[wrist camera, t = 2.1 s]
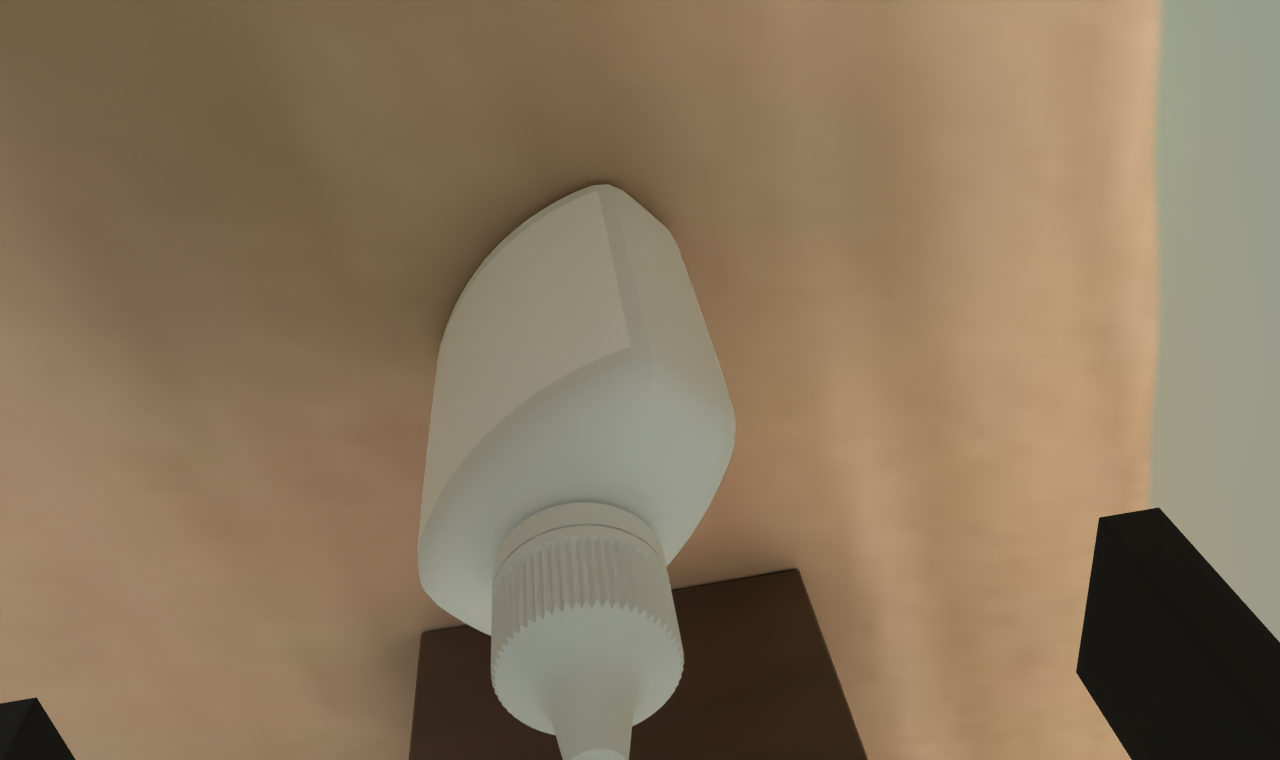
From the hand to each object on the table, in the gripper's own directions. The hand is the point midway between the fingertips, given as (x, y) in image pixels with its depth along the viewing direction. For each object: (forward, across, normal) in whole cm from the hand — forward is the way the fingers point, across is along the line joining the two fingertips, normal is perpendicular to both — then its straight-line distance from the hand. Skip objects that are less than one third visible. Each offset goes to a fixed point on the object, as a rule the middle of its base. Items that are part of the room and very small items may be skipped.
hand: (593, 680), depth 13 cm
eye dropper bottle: (+11, 0, 0) cm, 11 cm away
